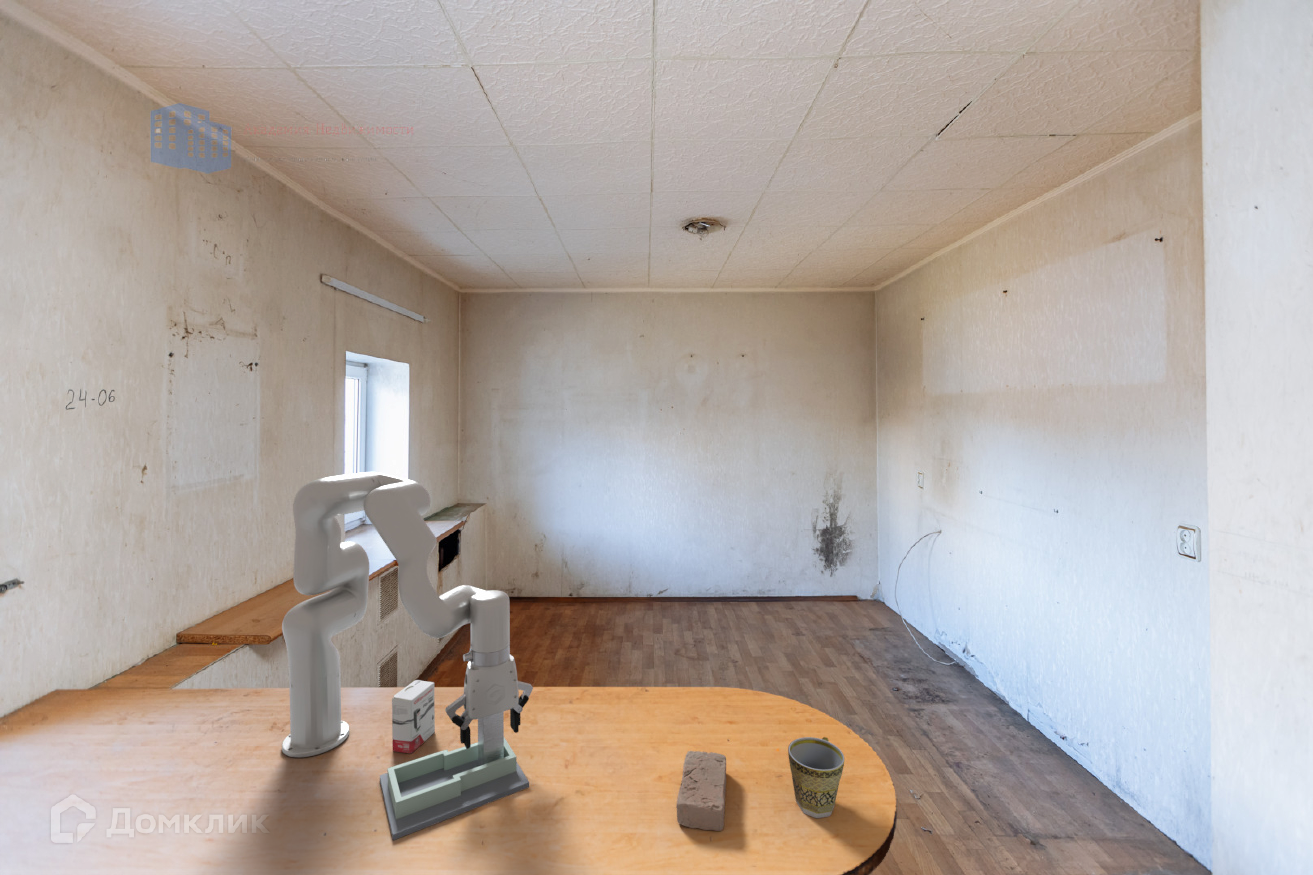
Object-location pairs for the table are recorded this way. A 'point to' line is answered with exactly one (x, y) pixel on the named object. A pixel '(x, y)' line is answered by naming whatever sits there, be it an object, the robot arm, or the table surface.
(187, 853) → the table surface
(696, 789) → the brick
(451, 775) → the green walled fixture tray
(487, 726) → the metal peg
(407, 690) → the ink box
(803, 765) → the ceramic cup
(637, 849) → the table surface
